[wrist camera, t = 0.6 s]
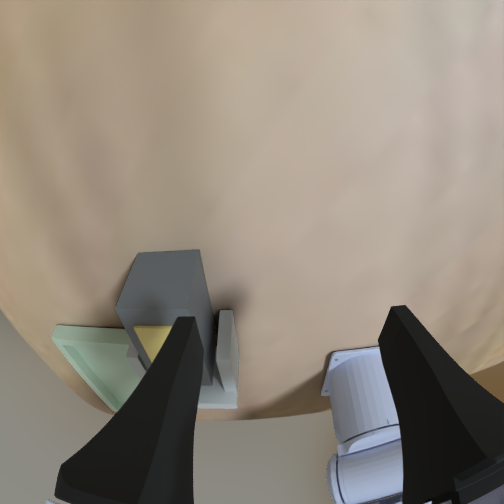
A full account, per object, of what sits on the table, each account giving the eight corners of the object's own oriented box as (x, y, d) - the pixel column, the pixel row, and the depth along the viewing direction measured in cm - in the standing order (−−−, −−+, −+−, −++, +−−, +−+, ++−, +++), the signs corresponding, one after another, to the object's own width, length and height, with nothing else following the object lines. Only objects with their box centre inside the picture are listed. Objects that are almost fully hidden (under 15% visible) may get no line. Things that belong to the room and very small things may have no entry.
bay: (238, 351, 28) (237, 408, 23) (158, 351, 28) (147, 404, 24) (232, 309, 25) (229, 374, 20) (139, 311, 25) (122, 370, 20)
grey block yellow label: (216, 331, 27) (212, 387, 22) (167, 331, 27) (156, 385, 22) (199, 249, 21) (187, 311, 17) (138, 252, 21) (113, 311, 17)
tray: (179, 406, 37) (177, 418, 35) (115, 400, 37) (113, 411, 35) (136, 329, 26) (131, 344, 25) (56, 324, 27) (50, 338, 25)
